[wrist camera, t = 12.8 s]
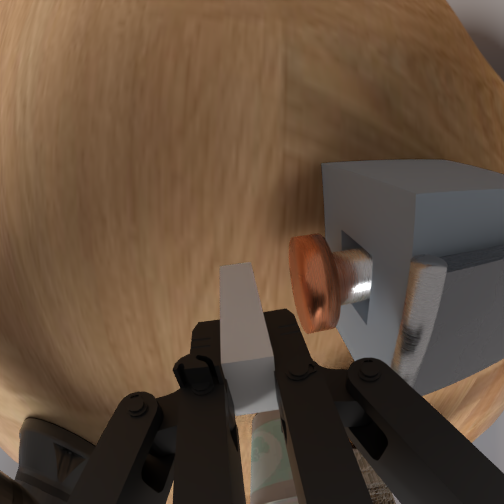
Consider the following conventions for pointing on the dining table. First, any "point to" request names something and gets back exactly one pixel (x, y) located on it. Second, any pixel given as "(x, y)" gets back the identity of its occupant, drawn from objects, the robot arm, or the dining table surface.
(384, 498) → the sculpture
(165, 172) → the dining table surface
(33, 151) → the dining table surface
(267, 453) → the coffee cup
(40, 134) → the dining table surface
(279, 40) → the dining table surface
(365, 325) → the block
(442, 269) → the keeper plate
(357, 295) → the lynch pin
